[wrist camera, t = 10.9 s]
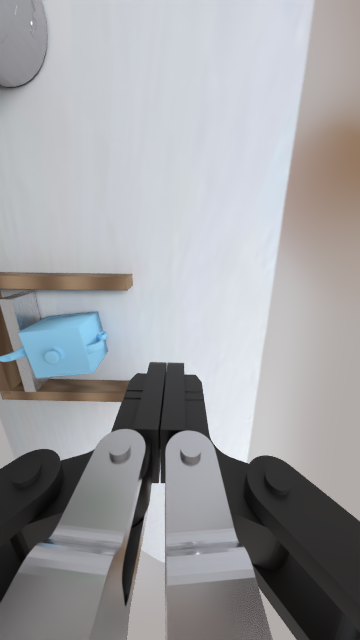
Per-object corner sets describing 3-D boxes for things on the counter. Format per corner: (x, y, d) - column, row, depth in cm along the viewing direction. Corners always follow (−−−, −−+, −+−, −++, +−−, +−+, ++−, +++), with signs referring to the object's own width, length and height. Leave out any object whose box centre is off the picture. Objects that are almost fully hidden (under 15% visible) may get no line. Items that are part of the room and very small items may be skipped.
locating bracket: (17, 386, 34) (2, 399, 31) (-17, 272, 28) (-40, 275, 25) (139, 388, 34) (135, 402, 31) (132, 274, 28) (126, 277, 25)
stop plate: (43, 374, 33) (25, 391, 29) (23, 291, 28) (-2, 299, 25) (52, 375, 33) (36, 392, 29) (34, 291, 28) (11, 299, 25)
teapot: (42, 354, 32) (2, 386, 25) (28, 316, 30) (-20, 339, 23) (120, 347, 31) (101, 377, 24) (111, 308, 29) (88, 329, 22)
